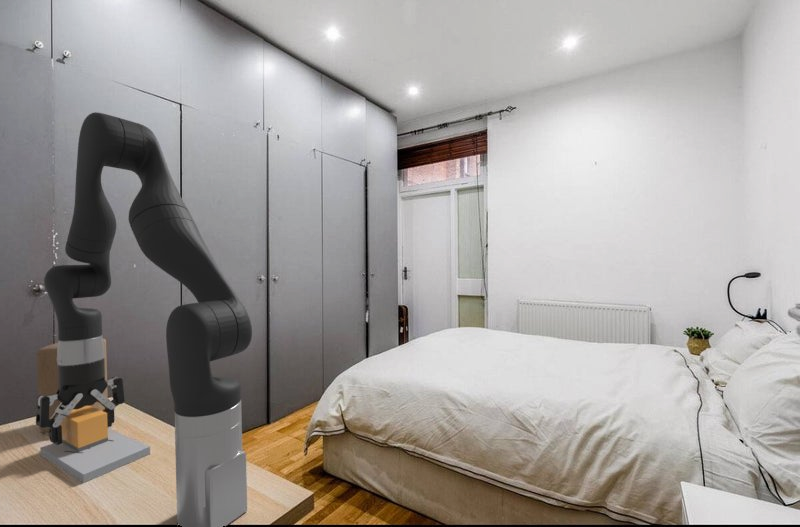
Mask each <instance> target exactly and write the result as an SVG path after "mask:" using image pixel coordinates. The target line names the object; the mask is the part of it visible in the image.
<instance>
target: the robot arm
mask: <svg viewBox="0 0 800 527" xmlns="http://www.w3.org/2000/svg"><path fill="white" fill-rule="evenodd" d="M78 136H79V137H78V143H77V145H78V146H77V154H76V155H77V157H76V160H77V161H76V169H75V170H76V171H75V185H74V188H75V191H74V207H73V214H72V218H71V224H70V228H69V230H68V231H69V232H68V233H67V234H68V235H67V238H66V239H67V240H66V243H65V247H64V248H65V249H64V250H65V254H66V255H67V257H69V258H70V259H71V260H74V261H77V262H78V263H84V264H60V265H55V266H52V267H51V268H50V269H48V271H47V272H46V273H45V276H44V279H43V284H44V288H45V290H46V293H47V296H48V298H49V299H50V301H51V304H52V306H53V309H54V313H55V315H56V321H57V332H58V333H57V334H58V336H57V337H58V341H57V343H58V349H57V363H58V391H57V393H56V394H51V395H46V396H45V395H39V396H37V398H36V408H35V410H36V411H35V425H36V426H38V427H39V426H40V427H41V428H45V427H49V433H48V437H49V438H48V439H49V440H48V441H49V442H51V444H52V443H54V444H56V445H59V444H62V426H61V425H60V424H61V423H62V421H63V420H64V419H65V417H66V416H68V415H69V414H70V412H71V411H72V410H73V409H76V410H77V409H80V408H82V407H84V406H90V405H94V403H96V402H98V403H100V404H101V405H102V406H104V407H105V409H103V412H106V413H107V425H108V428H111V427H112V426H113V424H114V423H115V420H116V419H115V408H116V407H118V406H119V405H122V404H124V403H125V392H124V383H123V381H124V379H122V378H121V377H119V376H113V377H111V378H110V379H107V381H106V380H105V359H104V342H103V339H104V338H103V317H102V313H101V311H100V310H98V309H96V308H85V307H78V306H77V305H76V304H75V302H74V300H73V299H82V298H83V299H84V298H85V299H87V298H96V297H97V298H98V297H101V296H103V295H105V294H106V293H107V292H108V291H109V290H110V288H111V285H112V276H111V268H110V266H111V264H110V262H111V261H110V253H111V250H112V245H113V243H114V239H115V237H116V233H117V218H116V215H115V212H114V210H113V208H112V207H111V205H110V202H109V200H108V198H107V196H106V195H105V192H104V189H103V186H102V173H103V170H104V168H105V167H108V168H114V169H120V170H126V171H131V172H133V173H134V174H136V175H137V177H138V179H139V180H140V182H141V187H140V190H139V191H138V193H137V195H135V197H134V199H133V201H132V203H131V206H130V207H129V210H128V217H127V218H128V223H129V226H130V228H131V231H132V233H133V234H132V235H133V236H134V238H135V240H136V242H137V246H139V248H140V251H141V252H142V253H143V255H144V256H145V257H146V258H147V259H148V260H149V261H150V262H152V263H153V264H154V265H155V266H157V268H159V269H161V270H162V271H163V272H165V273H166V274H167V275H169V276H170V277H172V278H174V279H175V280H176V281H178V282H179V283H180V284H182V285H183V286H184V287H186V289H188V290H189V291H190V293H191V294H192V295H193V297H195V299H196V300H197V302H193V303H192V302H191V303H185V304H181V305H178V306H176V307H175V308H174V309H172V310H171V312H170V315H169V316H168V319H167V322H166V329H165V330H166V331H165V333H166V335H165V339H166V351H167V352H166V353H167V362H168V372H169V374H168V375H169V385H170V392H171V396H172V399H173V405H174V406H173V410H174V444H175V445H174V446H175V448H174V450H175V488H176V489H175V490H176V493H175V494H176V516H177V517H176V519H177V520H176V522H178V524H179V525H180V526H182V527H223V526H225V527H226V526H228V525H229V524H231V523H233V521H235V520H236V519H237V518H239V517H240V516H242V515H244V513H246V512H247V511H248V486H247V485H248V483H247V482H248V480H247V479H248V478H247V475H248V474H247V473H248V472H247V452H246V451H245V450H243V431H242V430H243V428H242V426H243V425H242V424H243V422H242V420H243V419H242V416H243V415H242V388H241V383H240V382H239V381H238V380H236V379H235V378H231V377H226V376H225V377H224V376H213V374H212V368H211V362H213V361H217V360H221V359H223V358H224V359H225V358H228V357H231V356H235V355H237V354H239V353H242V352H244V351H245V350H247V349H248V348H249V346H250V344H251V341H252V338H253V326H252V323H251V322H252V321H251V318H250V317H249V314H248V312H247V309H246V307H245V306H244V303H242V300H241V299H240V298H239V296H238V295H237V292H235V290H234V289H233V287H232V286H231V285H230V283H229V281H228V280H227V278H226V277H225V275H224V273H223V272H222V271H221V270H220V268H219V266H218V264H217V262H216V261H215V259H214V257H213V255H212V254H211V252H210V250H209V249H208V246H207V245H206V243H205V241H204V239H203V237H202V235H201V233H200V231H199V228H198V226H197V223H196V222H195V220H194V219H193V216H192V215H191V213H190V212H191V211H189V209H188V207H187V206H186V204H185V202H184V200H183V199H182V196H181V195H180V192H179V190H178V188H177V186H176V184H175V181H174V180H173V177H172V174H171V173H170V170H169V167H168V164H167V162H166V158H165V156H164V153H163V150H162V147H161V145H160V143H159V140H158V138H157V136H156V135H155V133H154V132H153V131H152V130H151V129H150V128H149V127H147V126H146V125H143V124H141V123H138V122H134V121H132V120H128V119H124V118H121V117H118V116H114V115H109V114H107V113H102V112H97V111H96V112H92V113H89V114H88V115H87V116H86V117H85V118H84V120H83V122H82V125H81V127H80V131H79V135H78ZM108 387H109V388H110V389H111V391H112V400H110V399H109V398H106V397H105V396H104V395H103V392H104V391H105V389H106V388H107V389H108ZM56 399H58V400H59V401H60V402H61V403H60V405H59V406H58V407H57V409H56V410H55V413H54V414H53V416H52V417H51V418H50V419H49V406H51V405H52V404H53V402H54V400H56ZM62 406H63V407H62ZM178 524H177V525H178Z"/></svg>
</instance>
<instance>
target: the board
mask: <svg viewBox="0 0 800 527" xmlns="http://www.w3.org/2000/svg"><path fill="white" fill-rule="evenodd" d="M39 451H40V456H42V457H43V458H45V459H46V460H47V461H50V462H51V463H53V464H54V465H56V466H58V468H60V469H61V470H63V471H65V472H66V473H68V474H70V475H71V476H73V477H74V478H76V479H77V480H79V481H80V482H81V483H84V484H85V483H87V482H89V481H92V480H94V479H96V478H98V477H100V476H103V475H105V474H107V473H109V472H112V471H114V470H116V469H119V468H121V467H123V466H126V465H129V464H130V463H133V462H135V461H137V460H139V459H141V458H144V457H146V456H149V455H150V454H151V446H150V445H148V444H145V443H143V442H141V441H139V440H136V439H134V438H132V437H130V436H128V435H126V434H123V433H121V432H118V431H116V430H114V429H112V428H111V427H108V441H107V442H104V443H101V444H99V445H96V446H93V447H91V448H88V449H85V450H83V451H80V452H77V451H76V450H74V449H72V448H70V447H69V446H67V445H65V444H63V443H62V444H59V445H56V444H54V443H52V442H51V443H50V444H47V445H44V446H41V447H40V449H39Z"/></svg>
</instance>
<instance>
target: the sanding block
mask: <svg viewBox="0 0 800 527" xmlns="http://www.w3.org/2000/svg"><path fill="white" fill-rule="evenodd" d="M60 425H61V426H62V443H63V444H65V445H67V446H69V447H70V448H72V449H74V450H76V451H77V452H80V451H83V450H85V449H88V448H91V447H93V446H96V445H99V444H101V443H104V442H107V441H108V428H109V427H108V425H107V413H106V412H103V411H101V410H98V409H96V408H94V407H91V406H84V407H82V408H80V409H77V410H76V409H73V410H72V411H71V412H70V414H69V415H68V416H66V417H65V419H64V420H63V421H62V423H61V424H60Z"/></svg>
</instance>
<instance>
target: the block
mask: <svg viewBox="0 0 800 527" xmlns="http://www.w3.org/2000/svg"><path fill="white" fill-rule="evenodd" d="M103 342H104V359H105V380H106V381H107V380H108V366H107V364H108V363H107V362H108V361H107V360H108V359H107V357H108V356H107V340H106V338H103ZM57 349H58V342H55V343H52V344H48V345H46V346H44V347H40V348H39V349H38V350H37V352H36V360H37V361H36V362H37V364H36V366H37V388H38V390H37V391H38V392H37V393H38V396H39V395H45V396H46V395H51V394H56V393H57V391H58V363H57ZM108 390H109V389H108V387H107V388H106V389H105V391H104V392H103V395H104V396H105V397H106V398H108V394H109V393H108ZM38 396H37V397H38ZM108 399H109V398H108ZM60 403H61V402H60V401H59V400H58V399H56V400H54V402H53V404H52V405H51V406H49V419H50V418H51V417H52V416H53V414H54V413H55V410H56V409H57V407H58V406H59V405H60ZM90 406H91V407H94V408H96V409H98V410H101V411H103V409H105V407H104V406H102V405H101V404H100V403H98V402H96V403H94V405H90ZM62 407H63V406H62ZM38 427H39V429H38V430H39V432H40V434H49V427H45V428H41V427H40V426H38Z"/></svg>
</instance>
